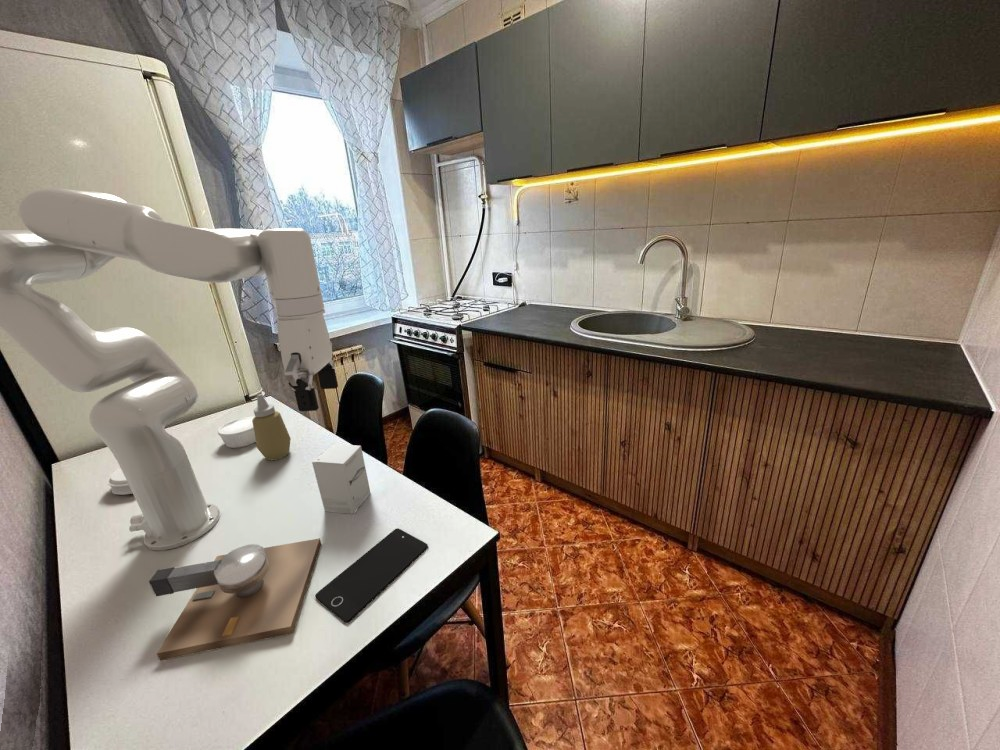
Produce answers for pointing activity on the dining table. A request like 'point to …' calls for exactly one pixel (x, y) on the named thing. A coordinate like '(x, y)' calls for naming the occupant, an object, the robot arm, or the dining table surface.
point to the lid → (119, 483)
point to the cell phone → (370, 574)
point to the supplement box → (341, 478)
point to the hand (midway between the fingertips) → (320, 398)
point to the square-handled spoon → (215, 573)
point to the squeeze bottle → (270, 431)
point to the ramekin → (238, 432)
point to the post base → (246, 605)
